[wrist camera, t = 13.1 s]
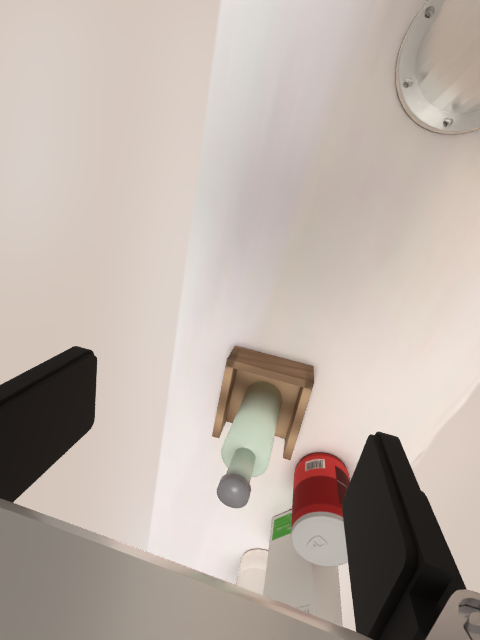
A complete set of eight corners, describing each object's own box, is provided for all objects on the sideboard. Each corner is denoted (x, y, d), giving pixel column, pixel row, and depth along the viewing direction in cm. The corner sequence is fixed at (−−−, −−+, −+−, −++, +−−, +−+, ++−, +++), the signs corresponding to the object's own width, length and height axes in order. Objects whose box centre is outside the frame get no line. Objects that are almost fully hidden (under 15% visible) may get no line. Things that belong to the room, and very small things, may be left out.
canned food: (285, 476, 49) (278, 544, 38) (313, 441, 46) (314, 504, 35) (328, 502, 48) (333, 578, 38) (359, 468, 46) (374, 540, 35)
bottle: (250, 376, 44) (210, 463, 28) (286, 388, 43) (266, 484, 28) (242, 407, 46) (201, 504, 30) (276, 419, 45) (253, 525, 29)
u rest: (235, 345, 44) (227, 359, 40) (313, 366, 42) (314, 382, 38) (220, 417, 48) (212, 436, 43) (292, 438, 46) (290, 460, 42)
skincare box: (313, 499, 49) (315, 617, 34) (337, 529, 49) (350, 657, 35) (270, 517, 52) (254, 633, 37) (294, 546, 52) (288, 671, 38)
